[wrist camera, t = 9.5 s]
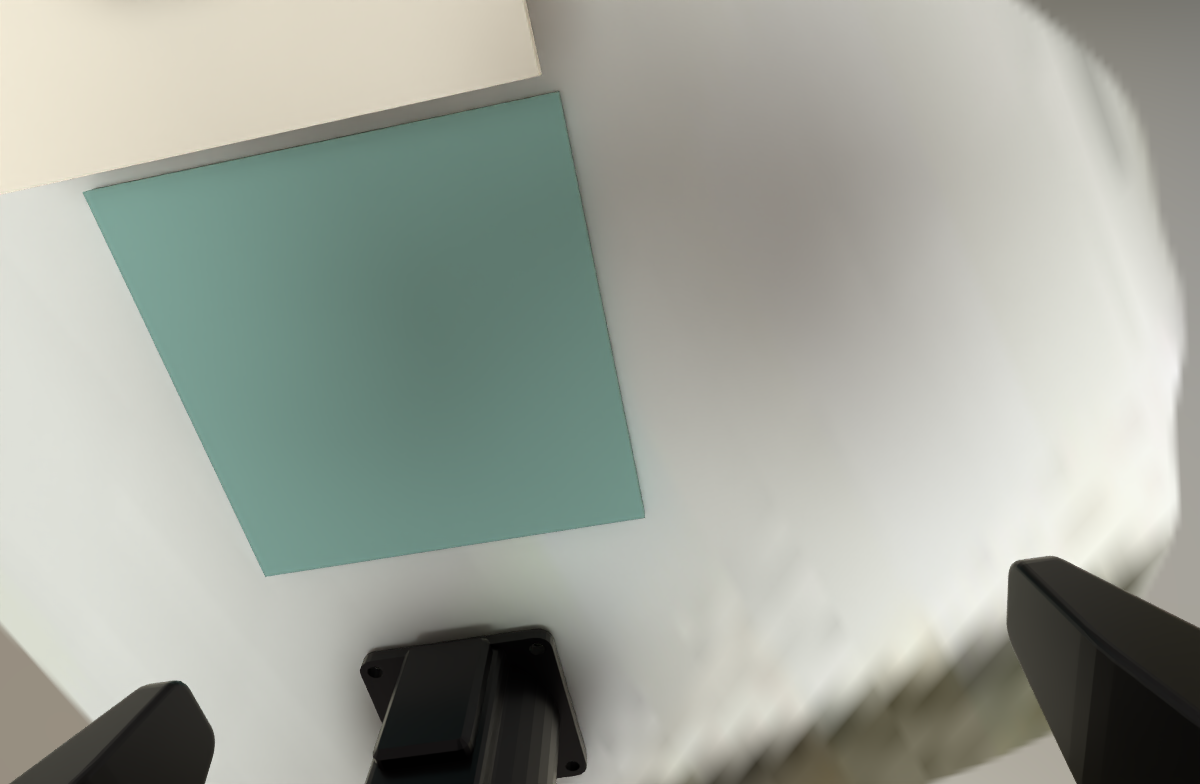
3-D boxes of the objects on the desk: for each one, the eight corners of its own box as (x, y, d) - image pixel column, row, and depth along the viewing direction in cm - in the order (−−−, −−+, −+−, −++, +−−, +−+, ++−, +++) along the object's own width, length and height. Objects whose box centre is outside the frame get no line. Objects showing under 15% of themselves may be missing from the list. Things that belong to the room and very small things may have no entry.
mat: (644, 510, 23) (644, 517, 22) (270, 568, 24) (265, 576, 24) (558, 91, 18) (558, 92, 18) (92, 189, 19) (83, 192, 19)
